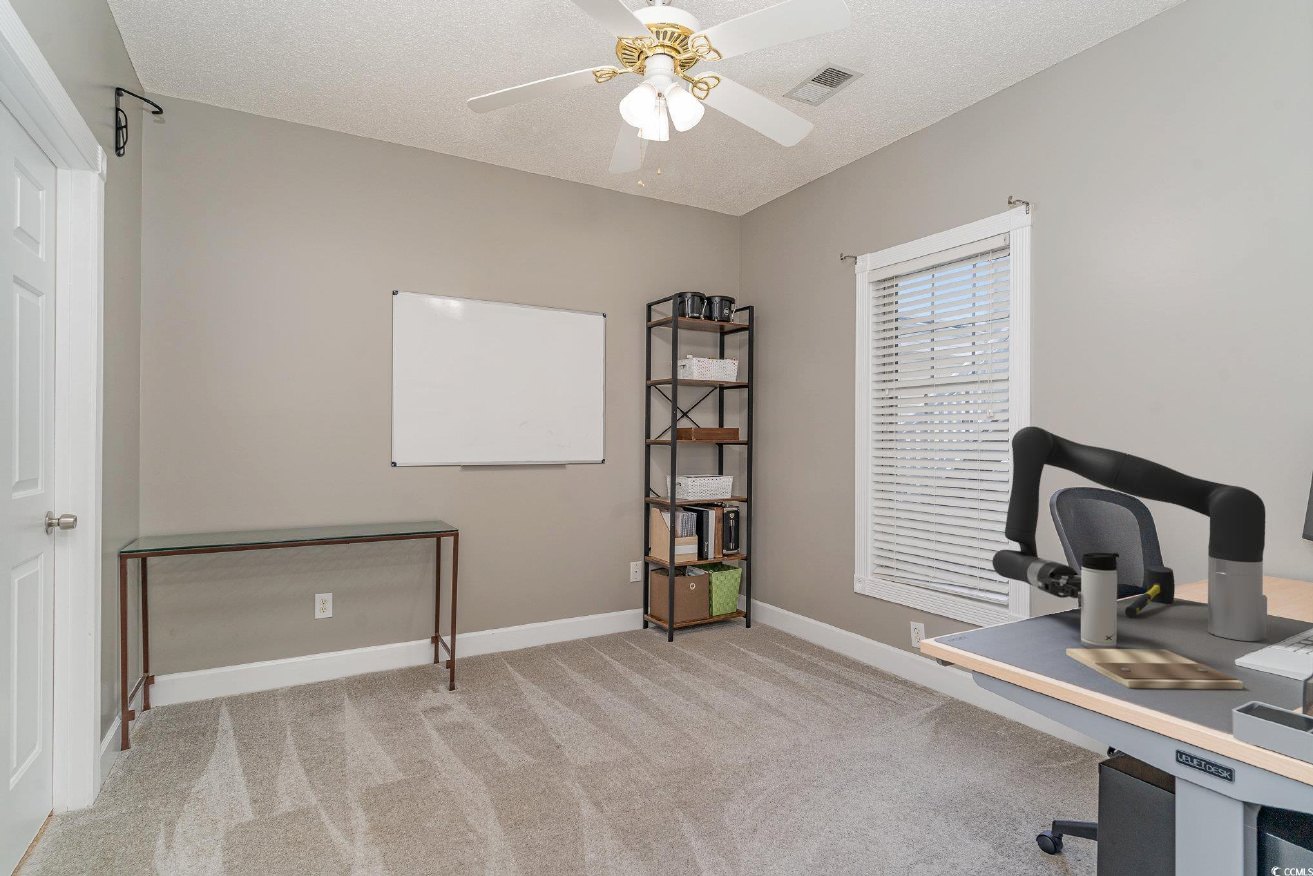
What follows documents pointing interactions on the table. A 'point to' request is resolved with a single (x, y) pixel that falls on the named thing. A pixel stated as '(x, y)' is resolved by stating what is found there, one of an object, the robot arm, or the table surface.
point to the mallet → (1155, 589)
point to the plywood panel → (1153, 669)
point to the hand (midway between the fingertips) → (1096, 593)
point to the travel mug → (1099, 600)
